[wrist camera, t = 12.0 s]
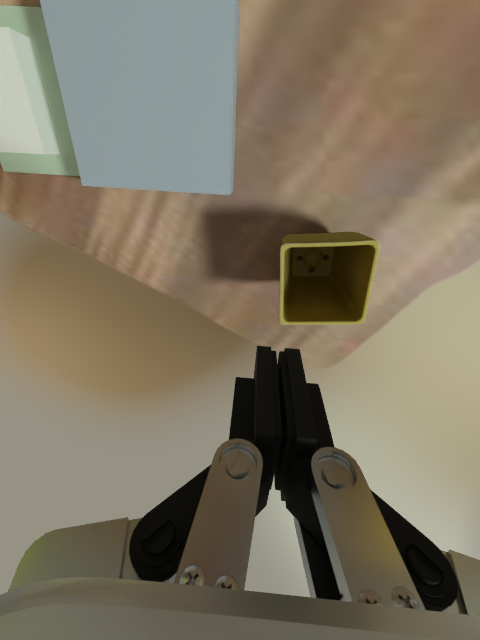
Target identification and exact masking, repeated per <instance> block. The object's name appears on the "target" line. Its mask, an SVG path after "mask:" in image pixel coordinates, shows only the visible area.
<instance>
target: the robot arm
mask: <svg viewBox="0 0 480 640" xmlns="http://www.w3.org/2000/svg"><path fill="white" fill-rule="evenodd" d="M274 476H275V489H276V490H281V500H282V501H286V508H287V509H288V510H289V511H290V512H291V513H292V515H293V516H294V523H295V528H296V533H297V537H298V541H299V546H300V550H301V556H302V560H303V565H304V569H305V574H306V578H307V583H308V587H309V592H310V597H311V598H309V597H301V596H291V595H282V594H272V593H262V592H254V591H244V587H245V581H246V574H247V567H248V561H249V554H250V548H251V541H252V534H253V528H254V521H255V517H256V516H257V515H258V514H259V512H260V511H261V510H262V509H263V508H264V507H265V506H266V504H267V500H268V495H269V490H270V489H271V486H272V482H273V477H274ZM0 640H480V560H477V559H475V558H472V557H469V556H466V555H463V554H461V553H458V552H455V551H452V550H449V551H448V552H445V551H441V550H439V548H438V547H437V546H436V545H435V544H434V543H433V542H431V541H430V540H429V539H428V538H427V537H425V535H423V534H422V533H421V532H420V531H419V530H417V529H416V528H415V527H414V526H413V525H412V524H410V523H409V522H408V521H407V520H406V519H404V518H403V517H402V516H401V515H400V514H399V513H397V512H396V511H395V510H394V509H393V508H392V507H390V506H389V505H388V504H387V503H386V502H384V501H383V500H382V499H381V498H379V497H378V496H377V495H376V494H375V493H374V492H372V491H371V490H370V488H369V486H368V484H367V482H366V480H365V477H364V475H363V473H362V471H361V469H360V467H359V466H358V464H357V462H356V461H355V460H354V459H353V458H352V457H351V456H350V455H349V454H347V453H346V452H344V451H343V450H340V449H338V448H335V447H334V444H333V440H332V436H331V432H330V428H329V424H328V420H327V416H326V412H325V408H324V404H323V400H322V396H321V392H320V388H319V385H318V384H311V383H306V379H305V374H304V369H303V364H302V359H301V354H300V350H299V349H290V348H285V350H284V352H282V351H280V352H279V358H278V364H277V359H276V351H271V347H265V346H257V352H256V362H255V371H254V379H252V378H240V377H236V381H235V391H234V399H233V409H232V417H231V426H230V436H229V440H228V441H226V442H224V443H223V444H221V446H220V447H219V448H218V449H217V451H216V453H215V455H214V458H213V461H212V464H211V465H210V466H209V467H207V468H206V469H205V470H203V471H202V472H201V473H199V474H198V475H197V476H196V477H194V478H193V479H192V480H190V481H189V482H188V483H187V484H185V485H184V486H182V487H181V488H180V489H178V490H177V491H176V492H175V493H173V494H172V495H171V496H170V497H168V498H167V499H165V500H164V501H163V502H162V503H160V504H159V505H158V506H156V507H155V508H154V509H152V510H151V511H150V512H148V513H147V514H146V515H145V516H144V517H143V518H140V519H134V520H129V519H128V517H127V518H122V519H116V520H110V521H104V522H98V523H92V524H86V525H80V526H75V527H68V528H63V529H57V530H54V531H51V532H48V533H46V534H44V535H43V536H41V537H40V538H39V539H37V540H36V541H35V542H34V543H33V544H32V545H31V546H30V547H29V548H28V550H27V551H26V552H25V554H24V556H23V557H22V559H21V561H20V563H19V565H18V567H17V570H16V573H15V575H14V578H13V580H12V583H11V585H10V588H9V590H8V592H7V593H4V594H1V595H0Z"/></svg>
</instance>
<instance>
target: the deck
mask: <svg viewBox="0 0 480 640" xmlns="http://www.w3.org/2000/svg"><path fill="white" fill-rule="evenodd" d="M40 3H41V7H42V12H43V16H44V21H45V25H46V29H47V34H48V38H49V42H50V47H51V51H52V56H53V60H54V64H55V69H56V73H57V77H58V82H59V86H60V91H61V95H62V99H63V104H64V108H65V112H66V117H67V121H68V126H69V130H70V134H71V139H72V143H73V147H74V152H75V156H76V161H77V165H78V169H79V174H80V178H81V182H82V186H96V187H111V188H127V189H142V190H158V191H173V192H188V193H204V194H219V195H230V194H231V193H232V191H233V181H234V152H235V122H236V93H237V64H238V35H239V4H238V0H40Z"/></svg>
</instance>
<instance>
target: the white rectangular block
mask: <svg viewBox="0 0 480 640" xmlns="http://www.w3.org/2000/svg"><path fill="white" fill-rule="evenodd" d="M0 152H11V153H30V154H60V151H59V148H58V144H57V140H56V136H55V132H54V128H53V124H52V121H51V117H50V113H49V109H48V105H47V101H46V97H45V94H44V90H43V86H42V82H41V78H40V74H39V70H38V67H37V63H36V59H35V55H34V51H33V47H32V43H31V40H30V38H29V37H27V36H25V35H23V34H21V33H19V32H17V31H15V30H13V29H11V28H9V27H0Z"/></svg>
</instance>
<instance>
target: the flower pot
mask: <svg viewBox="0 0 480 640" xmlns="http://www.w3.org/2000/svg"><path fill="white" fill-rule="evenodd" d="M379 250H380V243H379V241H377V240H374V239H372V238H370V237H367V236H365V235H362V234H359V233H356V232H337V233H312V234H287V235H285V236H284V237H283V239H282V243H281V247H280V298H279V322H280V324H283V325H352V324H362V323H364V321H365V318H366V313H367V308H368V303H369V298H370V293H371V288H372V283H373V278H374V274H375V269H376V265H377V260H378V256H379ZM324 255H328V258H327V259H324V258H323V257H324ZM298 256H301V257H302V258H301V260H298V259H297V257H298ZM310 268H313V269H314V270H313V271H312V272H310V271H309V269H310Z"/></svg>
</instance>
